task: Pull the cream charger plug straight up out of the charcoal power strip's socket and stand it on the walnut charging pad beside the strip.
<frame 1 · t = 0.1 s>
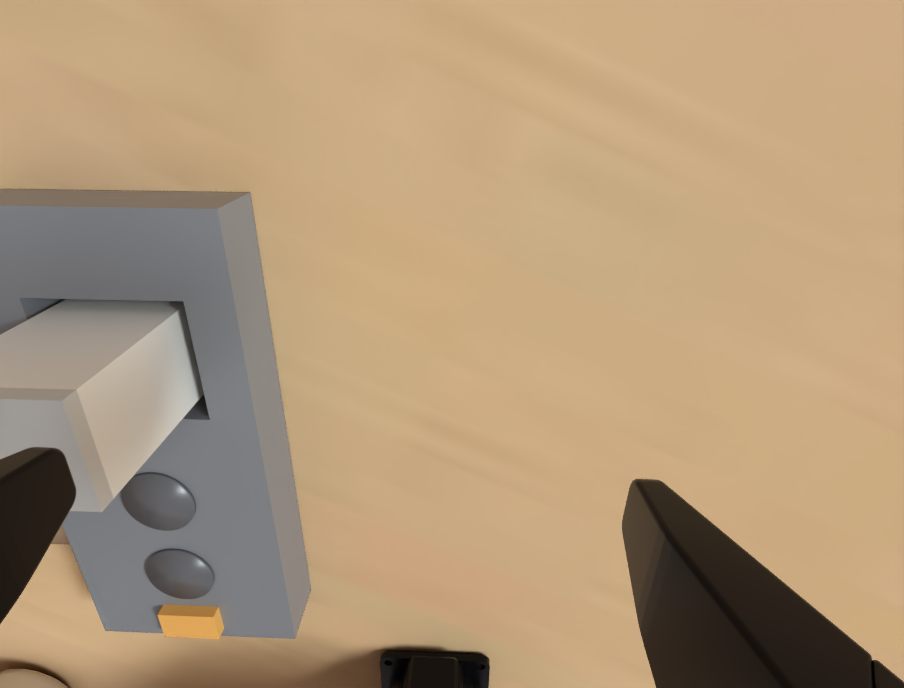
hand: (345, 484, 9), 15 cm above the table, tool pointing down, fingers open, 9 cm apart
power strip: (183, 424, 26), on the table
plastic bottle: (43, 682, 36), on the table
charger plug: (159, 329, 24), resting in power strip
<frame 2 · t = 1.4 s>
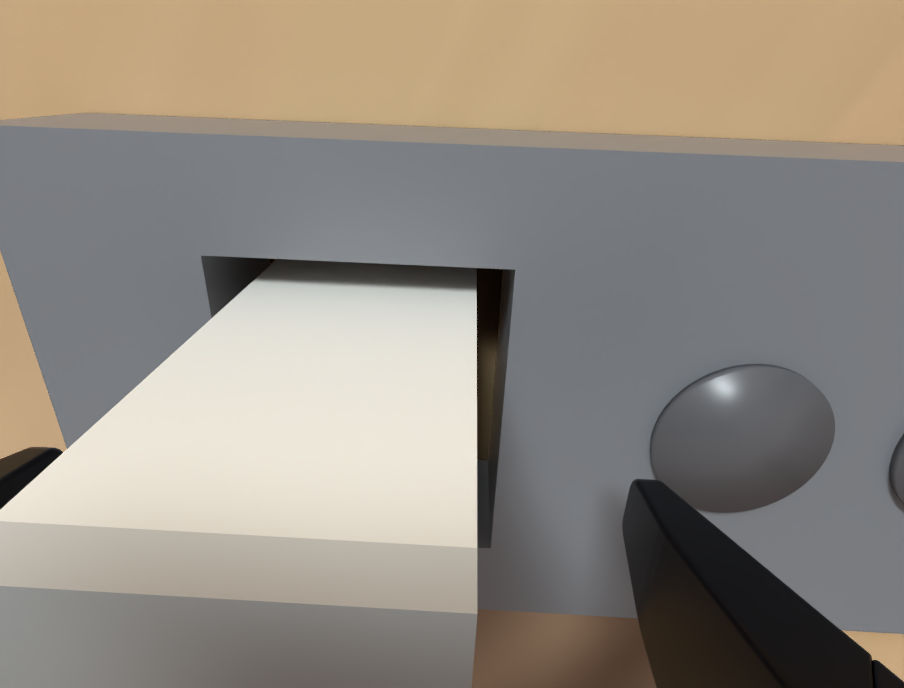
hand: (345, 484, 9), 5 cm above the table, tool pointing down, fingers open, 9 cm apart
power strip: (597, 359, 13), on the table
charger plug: (387, 348, 13), resting in power strip
charging pad: (603, 682, 18), on the table
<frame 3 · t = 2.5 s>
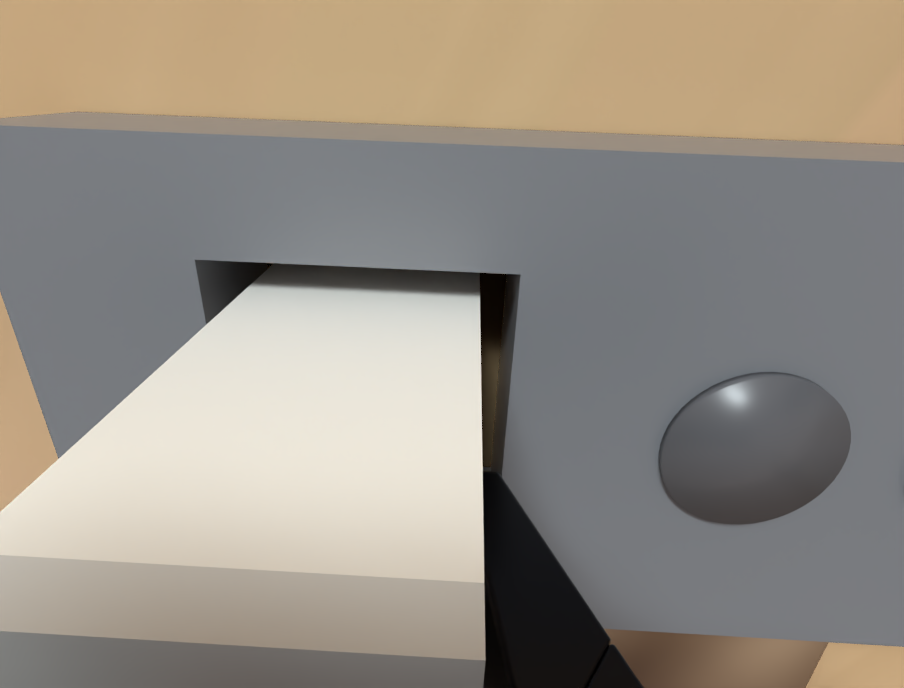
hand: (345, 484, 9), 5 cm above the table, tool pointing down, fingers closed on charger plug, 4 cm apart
power strip: (603, 365, 13), on the table
charger plug: (387, 354, 13), resting in power strip, touching gripper
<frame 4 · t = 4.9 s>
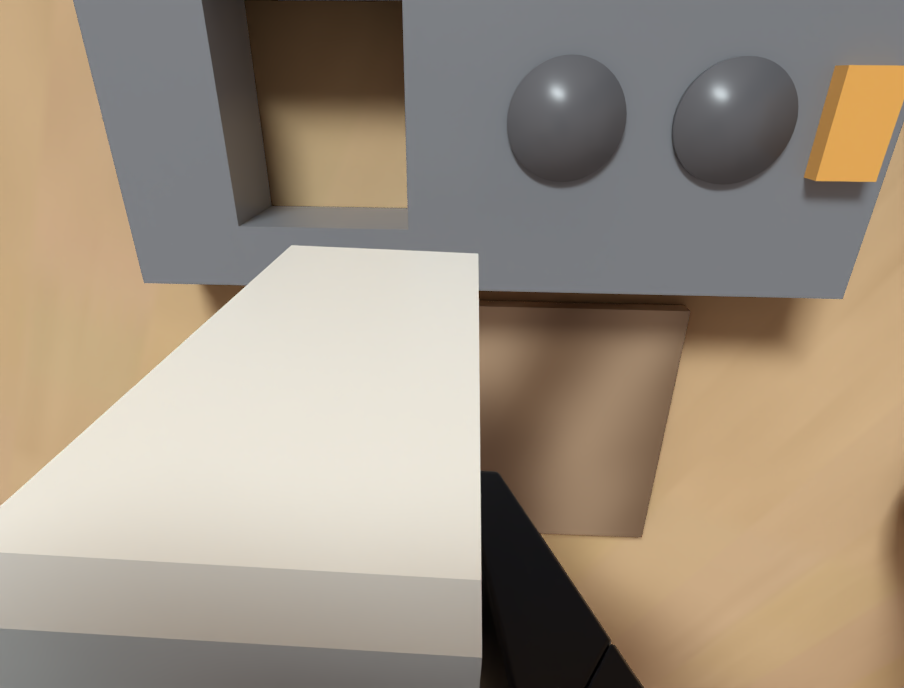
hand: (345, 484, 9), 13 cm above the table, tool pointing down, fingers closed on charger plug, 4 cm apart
power strip: (489, 113, 18), on the table
charger plug: (386, 353, 13), point 8 cm above the table, touching gripper
charging pad: (526, 423, 23), on the table
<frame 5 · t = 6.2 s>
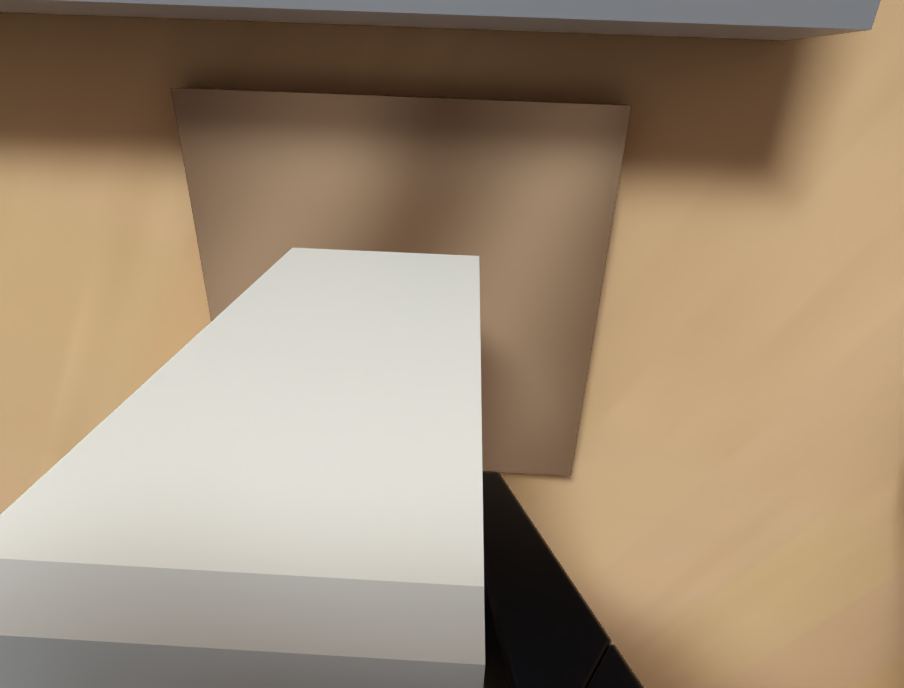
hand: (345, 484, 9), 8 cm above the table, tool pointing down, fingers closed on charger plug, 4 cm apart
charger plug: (387, 355, 13), point 4 cm above the table, touching gripper
charging pad: (403, 302, 16), on the table
when the fingers open (6 cm above the table, at t = 7.2 s): charger plug drops 1 cm, resting on charging pad.
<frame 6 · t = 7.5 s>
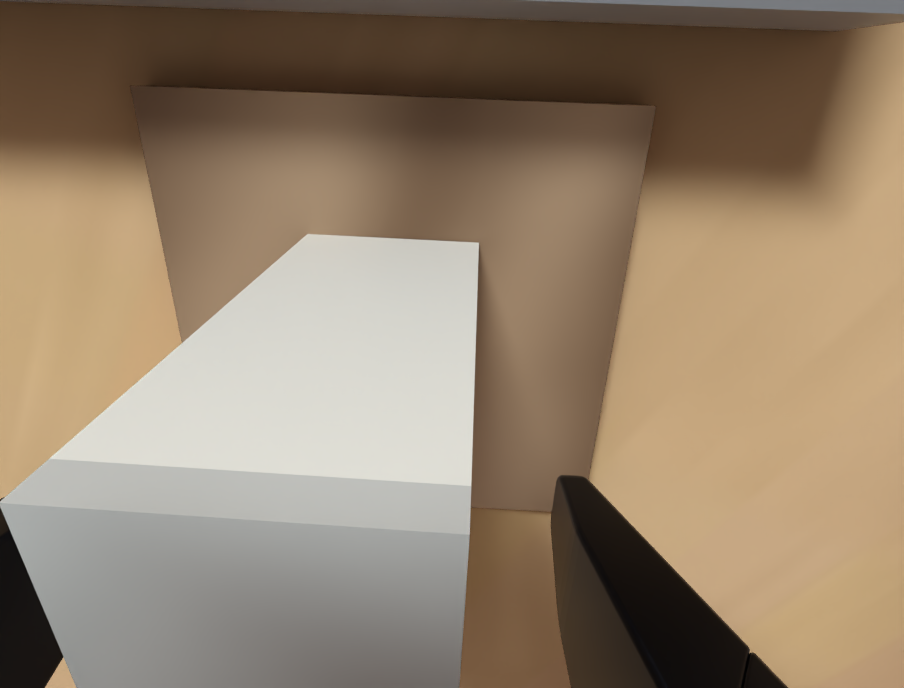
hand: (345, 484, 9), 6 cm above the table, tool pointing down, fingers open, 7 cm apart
charger plug: (393, 335, 14), point 1 cm above the table, touching charging pad
charging pad: (396, 325, 14), on the table
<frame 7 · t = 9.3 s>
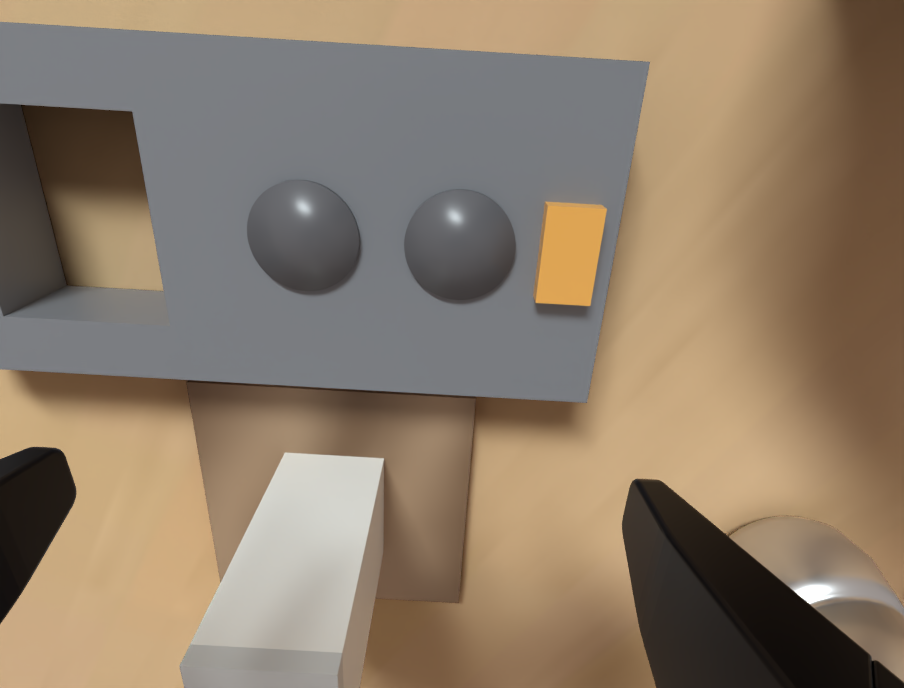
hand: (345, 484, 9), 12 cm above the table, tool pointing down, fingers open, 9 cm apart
power strip: (269, 211, 19), on the table
plastic bottle: (760, 549, 25), on the table
charger plug: (336, 503, 23), point 1 cm above the table, touching charging pad
charging pad: (339, 494, 24), on the table
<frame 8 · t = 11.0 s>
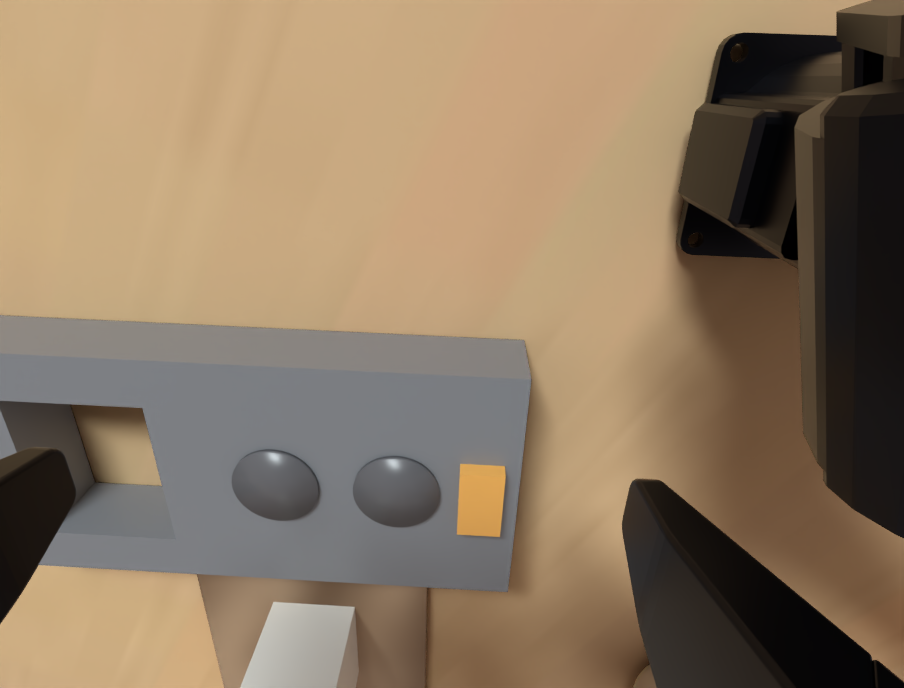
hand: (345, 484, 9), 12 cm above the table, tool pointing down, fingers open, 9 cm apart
power strip: (253, 434, 23), on the table
plastic bottle: (680, 670, 29), on the table
charger plug: (317, 638, 28), point 1 cm above the table, touching charging pad
charging pad: (320, 627, 28), on the table
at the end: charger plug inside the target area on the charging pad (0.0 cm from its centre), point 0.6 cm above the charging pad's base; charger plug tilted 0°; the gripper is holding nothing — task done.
